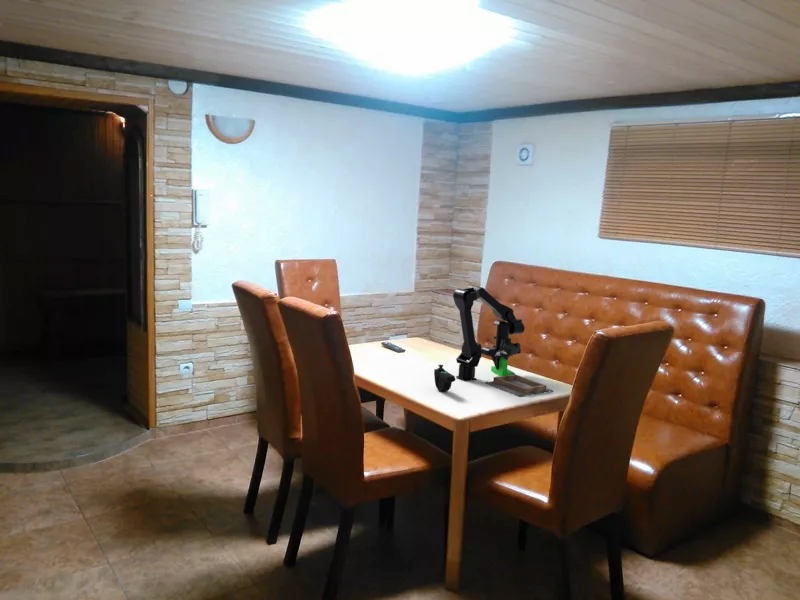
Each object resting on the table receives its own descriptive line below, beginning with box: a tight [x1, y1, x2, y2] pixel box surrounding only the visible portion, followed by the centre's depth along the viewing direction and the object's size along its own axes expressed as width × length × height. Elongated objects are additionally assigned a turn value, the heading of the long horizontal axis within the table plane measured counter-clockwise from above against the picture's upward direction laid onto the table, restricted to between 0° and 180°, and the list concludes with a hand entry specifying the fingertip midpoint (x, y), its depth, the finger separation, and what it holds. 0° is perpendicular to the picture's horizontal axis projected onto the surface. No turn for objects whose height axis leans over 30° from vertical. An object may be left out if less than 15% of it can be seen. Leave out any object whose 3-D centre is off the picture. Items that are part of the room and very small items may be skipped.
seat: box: [485, 373, 554, 398], centre depth 257 cm, size 19×20×3 cm
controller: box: [433, 364, 456, 393], centre depth 244 cm, size 4×12×10 cm, turn 24°
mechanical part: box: [490, 358, 516, 377], centre depth 277 cm, size 12×6×8 cm, turn 16°
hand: (499, 369), depth 276 cm, fingers open, 2 cm apart
